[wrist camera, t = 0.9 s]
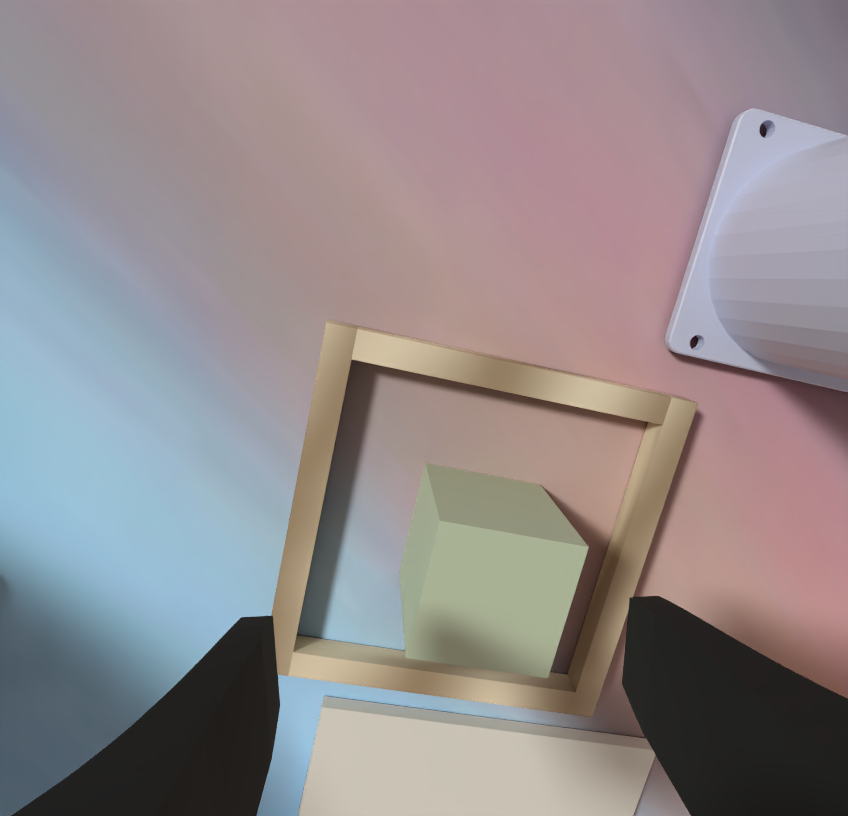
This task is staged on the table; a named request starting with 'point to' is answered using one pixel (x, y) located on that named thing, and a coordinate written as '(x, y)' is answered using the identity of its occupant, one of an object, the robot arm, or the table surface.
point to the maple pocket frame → (618, 569)
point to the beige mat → (465, 766)
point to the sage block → (487, 573)
